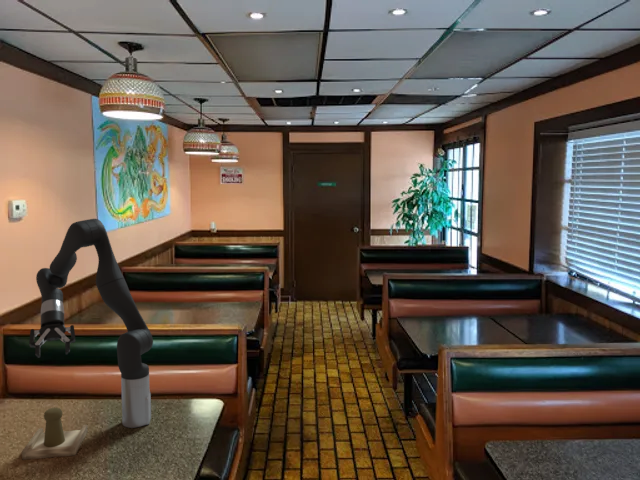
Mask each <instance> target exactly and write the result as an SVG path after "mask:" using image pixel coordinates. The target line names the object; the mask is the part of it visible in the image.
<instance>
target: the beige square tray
mask: <svg viewBox="0 0 640 480" xmlns="http://www.w3.org/2000/svg"><path fill="white" fill-rule="evenodd" d="M88 428H89V427H88V424H83V425H82V427H81V429H76V430H63V432H64V437H65V441H64V443H62V444H60V445H58V446H54V447H46V446H44V437H45V432H44V427H38V429H37V430H36V431H35V433H34V435H32V437H31V439H30V440H29V442H28V443H27V444H26V445H25V446H24V448H23V449H22V450H21V460H22V461H24V460H25V461H26V460H35V459H47V458H59V457H70V456H76V455H77V453H78V451H79V449H80V447H81V445H82V443H83V441H84V440H85V437H86V436H87V434H88V432H89V429H88Z"/></svg>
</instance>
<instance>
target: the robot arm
mask: <svg viewBox="0 0 640 480" xmlns="http://www.w3.org/2000/svg"><path fill="white" fill-rule="evenodd" d="M92 246H94V248H95V251H96V254H97V256H98V257H97V258H98V264H97V268H96V269H97V271H96V273H95V274H96V276H95V285H96V288H97V291H98V292H99V295H100V297H101V299H102V301H103V302H104V304H105V305H106V306H107V307H108V308H109V309H110V310H112V311H113V312H114V313H115V314H116V315H117V316H118V317H120V319H121V320H122V322H123V324H124V326H125V328H126V330H127V332H123V333H122V334H121V335H120V336H119V337H118V339H117V341H116V353H117V355H116V356H117V366H118V370H119V371H120V379H121V381H120V383H121V413H122V414H121V415H122V416H121V421H122V425H123V427H125V428H129V429H130V428H132V429H133V428H140V427H143V426H147V425H150V423H151V419H152V402H151V401H152V399H151V398H152V397H151V396H152V393H151V391H150V367H149V365H148V364H146V363H144V362H142V355H143V354H146V353H147V352H149V351H150V350H151V349H152V347H153V345H154V339H153V335H152V332H151V330H150V329H149V327H148V325H147V324H146V321H144V318H143V317H142V315H141V313H140V311H139V308H138V307H137V304H136V303H135V300H134V298H133V296H132V294H131V292H130V289H129V287H128V283H127V282H126V279H125V277H124V275H123V272H122V271H121V269H120V266H119V263H118V262H117V260H116V259H117V258H116V257H115V254H114V251H113V248H112V245H111V241H110V239H109V235H108V233H107V229H106V228H105V226H104V224H103V222H102V221H101V220H100V219H98V218H90V219H84V220H79V221H75V222H73V223H71V224H70V225H69V227H68V229H67V231H66V233H65V236H64V239H63V241H62V244H61V247H60V249H59V251H58V253H57V254H56V256H55V257H54V259H53V260H52V261H51V263H50V265H49V268H48V267H42V268H40V269H39V270H38V271H37V273H36V276H35V277H36V278H35V280H36V285H37V287H38V289H39V292H40V295H41V307H40V329H36V330H35V329H33V328H32V329H30V331H29V340H28V343H29V344H28V345H29V348H33V349H35V350H34V353H35V355H34V356H36V357H37V359H38V358H41V346H42V345H44V344H45V343H46V342H52V341H58V340H60V341H61V342H63V343H64V344H65V346H64V347H65V351H64V352H65V355H69V353H70V352H71V344H72V343H73V344H74V343H76V332H75V326H74V325H73V324H72V325H70V326H67V327H66V326H65V307H64V293H63V291H62V290H61V289H62V288H64V287H66V285H67V282H68V277H69V274H70V272H71V271H72V269H73V268H74V267H75V265H76V263H77V262H78V261H77V260H78V257H77V256H78V255H77V251H79V250H80V249H82V248H87V247H92ZM66 332H67V333H69V334H70V338H69V337H67V336H66V334H65V333H66ZM38 335H40V337H39V338H38V340H37V341H36V342H35V338H37V336H38Z"/></svg>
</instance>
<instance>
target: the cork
mask: <svg viewBox="0 0 640 480" xmlns="http://www.w3.org/2000/svg"><path fill="white" fill-rule="evenodd" d="M62 417H63V410H62V408H61V407H51V408H48V409H47V410H45V412H44V413H43V420H44V421H45V430H44V433H45V437H44V446H46V447H54V446H58V445H60V444H62V443H64V441H65V437H64V432H63V431H64V428H63V425H62V424H63V423H62Z"/></svg>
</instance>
